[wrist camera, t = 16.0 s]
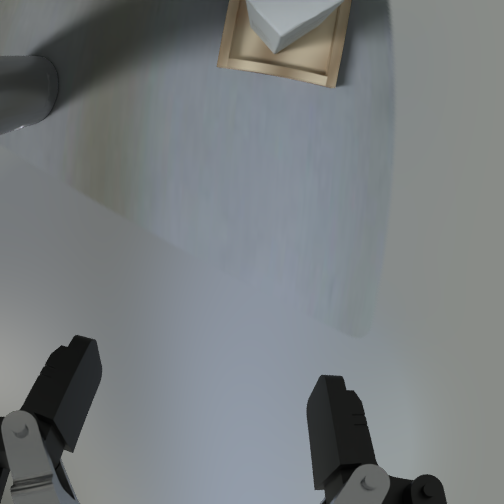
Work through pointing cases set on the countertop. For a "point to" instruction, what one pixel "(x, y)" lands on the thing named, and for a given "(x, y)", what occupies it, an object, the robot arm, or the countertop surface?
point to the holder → (291, 57)
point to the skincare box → (287, 19)
